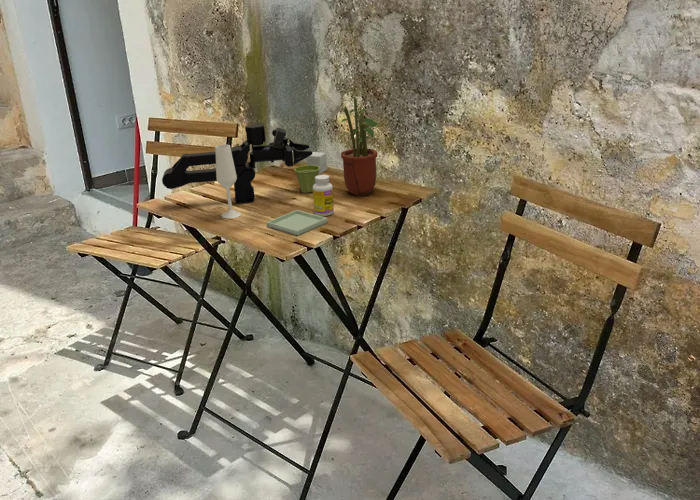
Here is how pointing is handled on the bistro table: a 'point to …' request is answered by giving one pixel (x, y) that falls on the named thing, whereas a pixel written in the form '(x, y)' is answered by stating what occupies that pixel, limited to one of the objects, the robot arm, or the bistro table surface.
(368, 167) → the potted plant
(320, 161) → the product box
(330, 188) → the supplement bottle
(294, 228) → the tray
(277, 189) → the bistro table surface
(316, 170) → the plant pot
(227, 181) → the champagne flute
